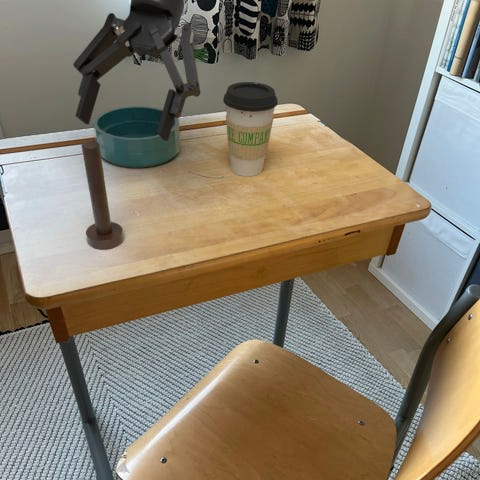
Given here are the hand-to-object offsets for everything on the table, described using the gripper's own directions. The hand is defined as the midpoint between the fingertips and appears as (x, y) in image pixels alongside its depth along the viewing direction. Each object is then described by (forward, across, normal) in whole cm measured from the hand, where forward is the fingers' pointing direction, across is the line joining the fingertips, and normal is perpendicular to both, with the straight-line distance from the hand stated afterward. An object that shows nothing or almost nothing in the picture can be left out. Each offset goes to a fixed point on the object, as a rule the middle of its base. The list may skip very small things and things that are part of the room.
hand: (121, 128), depth 77 cm
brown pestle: (+16, 0, -5) cm, 17 cm away
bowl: (-5, +11, -26) cm, 29 cm away
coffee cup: (-7, -12, -28) cm, 31 cm away
